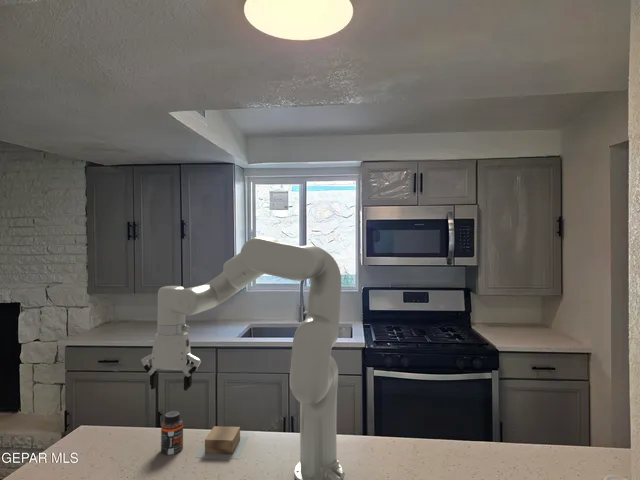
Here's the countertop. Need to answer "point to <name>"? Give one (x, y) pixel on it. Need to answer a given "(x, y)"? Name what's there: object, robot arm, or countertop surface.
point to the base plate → (224, 456)
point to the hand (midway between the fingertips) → (170, 388)
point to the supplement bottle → (172, 434)
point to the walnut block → (222, 440)
